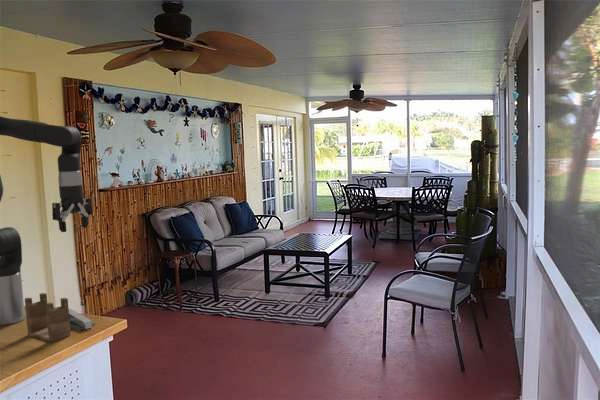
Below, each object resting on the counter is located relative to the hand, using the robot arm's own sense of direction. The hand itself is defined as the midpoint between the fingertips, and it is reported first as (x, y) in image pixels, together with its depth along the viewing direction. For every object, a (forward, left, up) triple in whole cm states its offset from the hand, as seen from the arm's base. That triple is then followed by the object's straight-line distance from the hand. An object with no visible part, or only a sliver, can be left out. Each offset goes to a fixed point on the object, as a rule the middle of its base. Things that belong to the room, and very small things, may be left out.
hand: (74, 229), depth 177 cm
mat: (+6, -6, -32) cm, 33 cm away
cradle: (+5, -16, -32) cm, 36 cm away
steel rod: (+6, -6, -31) cm, 32 cm away
